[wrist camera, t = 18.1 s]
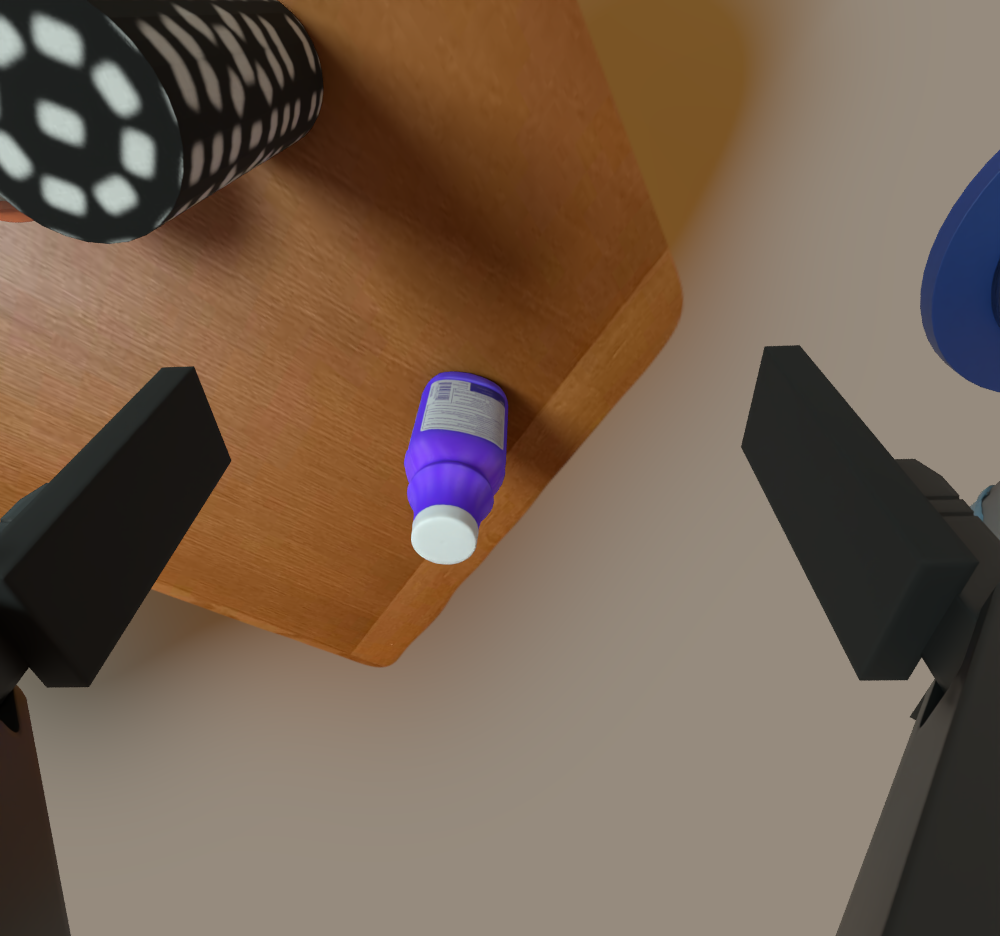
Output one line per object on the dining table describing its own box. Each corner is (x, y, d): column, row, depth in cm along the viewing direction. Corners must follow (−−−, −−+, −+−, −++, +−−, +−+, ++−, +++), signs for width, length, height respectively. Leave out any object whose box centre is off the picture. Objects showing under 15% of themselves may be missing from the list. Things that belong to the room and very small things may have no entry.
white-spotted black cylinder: (336, 26, 36) (192, 42, 20) (309, 169, 40) (176, 275, 25) (190, -42, 34) (-96, -83, 18) (180, 116, 39) (-54, 193, 23)
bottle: (416, 416, 52) (380, 564, 38) (427, 358, 49) (392, 497, 35) (498, 433, 53) (492, 584, 39) (515, 378, 50) (514, 521, 36)
